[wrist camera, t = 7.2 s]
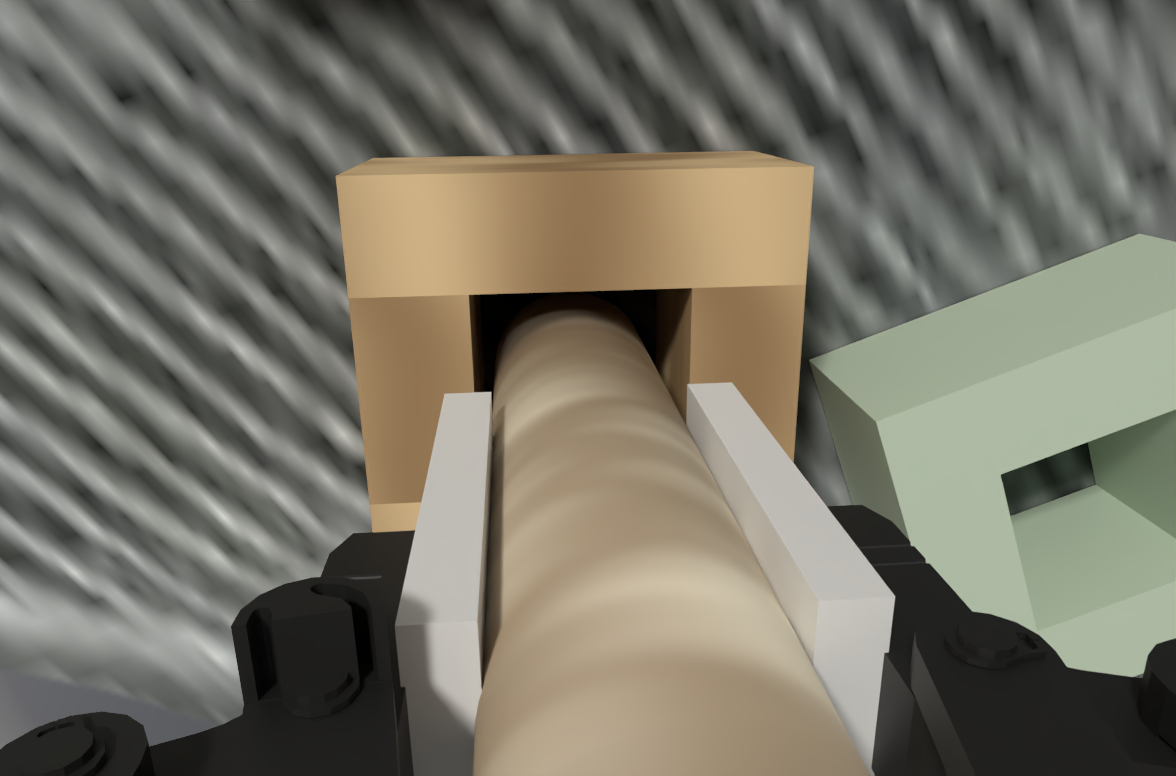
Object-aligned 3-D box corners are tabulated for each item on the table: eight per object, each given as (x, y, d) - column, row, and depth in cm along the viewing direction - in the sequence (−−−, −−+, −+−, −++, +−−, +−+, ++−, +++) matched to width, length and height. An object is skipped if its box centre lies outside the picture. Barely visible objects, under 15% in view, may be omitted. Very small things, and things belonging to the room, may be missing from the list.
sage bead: (1139, 233, 22) (1285, 266, 18) (1184, 522, 25) (1318, 609, 21) (808, 360, 23) (875, 421, 19) (890, 630, 26) (964, 736, 22)
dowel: (644, 289, 20) (924, 703, 6) (643, 431, 21) (879, 1036, 7) (491, 294, 19) (451, 736, 6) (498, 437, 20) (477, 1074, 7)
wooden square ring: (753, 150, 21) (814, 166, 17) (737, 491, 24) (785, 578, 20) (373, 158, 20) (335, 176, 16) (404, 507, 23) (379, 600, 19)
